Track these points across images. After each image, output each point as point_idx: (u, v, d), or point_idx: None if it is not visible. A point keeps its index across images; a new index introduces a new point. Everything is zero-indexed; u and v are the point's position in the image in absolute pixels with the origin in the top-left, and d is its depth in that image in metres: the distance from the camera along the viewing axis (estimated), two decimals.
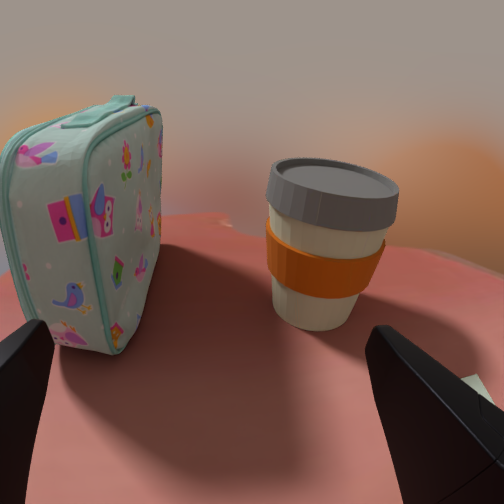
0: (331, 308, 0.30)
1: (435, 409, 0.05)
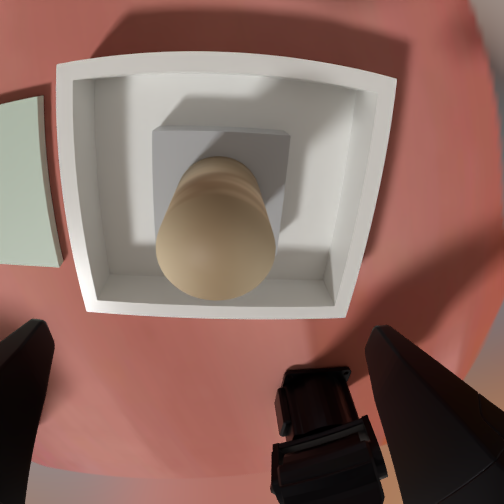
0: None
1: (435, 409, 0.05)
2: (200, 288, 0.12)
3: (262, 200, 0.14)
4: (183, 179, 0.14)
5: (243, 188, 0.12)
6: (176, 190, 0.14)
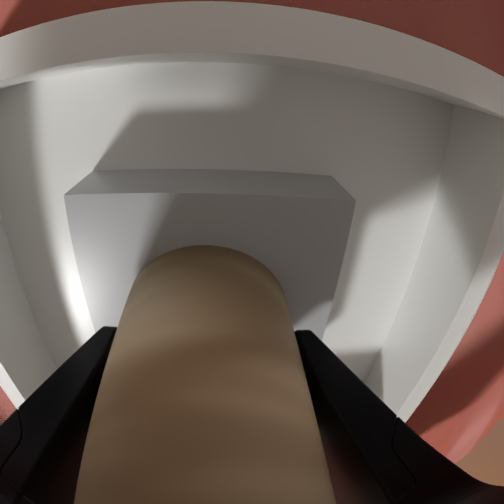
0: None
1: (338, 430, 0.05)
2: None
3: (306, 389, 0.06)
4: (125, 320, 0.06)
5: (268, 418, 0.04)
6: (109, 356, 0.06)
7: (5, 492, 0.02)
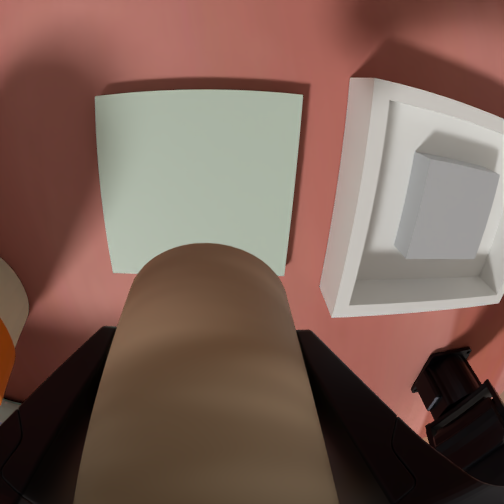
0: (11, 315, 0.20)
1: (338, 430, 0.05)
2: None
3: (308, 387, 0.05)
4: (125, 318, 0.06)
5: (270, 417, 0.04)
6: (109, 355, 0.06)
7: (5, 492, 0.02)
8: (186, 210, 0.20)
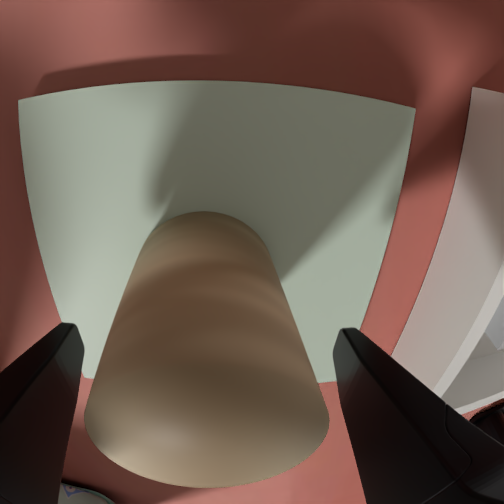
0: None
1: (396, 419, 0.05)
2: (183, 478, 0.06)
3: (290, 311, 0.07)
4: (139, 263, 0.08)
5: (260, 309, 0.06)
6: (125, 290, 0.07)
7: None
8: None
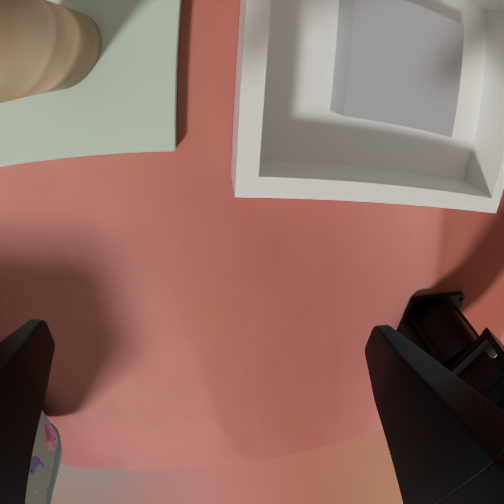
0: None
1: (435, 409, 0.05)
2: None
3: (71, 16, 0.09)
4: None
5: None
6: None
7: None
8: None
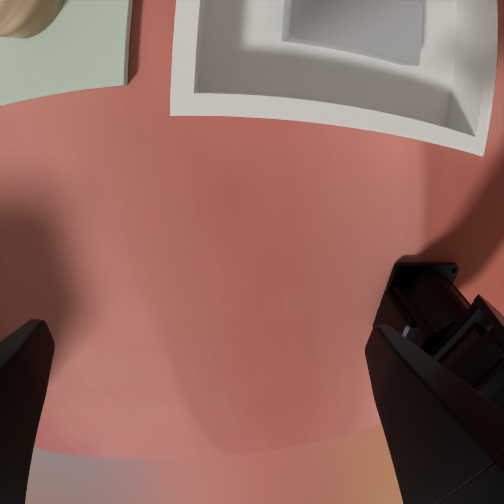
0: None
1: (435, 409, 0.05)
2: None
3: None
4: None
5: None
6: None
7: None
8: None
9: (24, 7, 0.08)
